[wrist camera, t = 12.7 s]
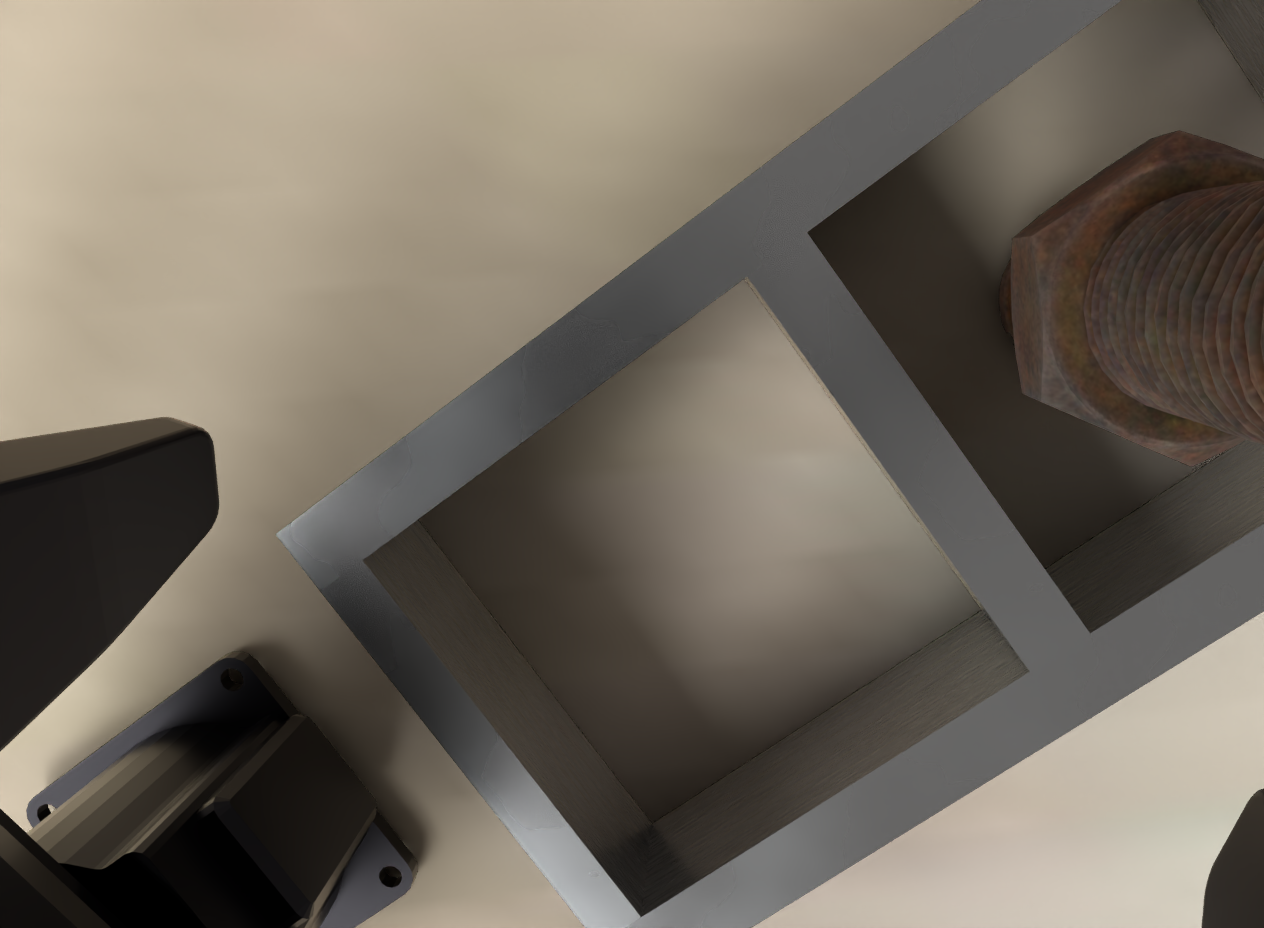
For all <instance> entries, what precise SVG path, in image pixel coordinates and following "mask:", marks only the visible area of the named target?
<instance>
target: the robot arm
mask: <svg viewBox="0 0 1264 928" xmlns="http://www.w3.org/2000/svg"><path fill="white" fill-rule="evenodd" d="M218 510H219V495H218V485H217V474H216V464H215V453H214V445H213V441H212V439H211V437H210V435H209V433H208V432H207V431H205V430H204V429H203V428H201V427H198V426H196V425H193V424H190V423H187V422H184V421H181V420H178V419H174V418H169V417H160V418H154V419H147V420H140V421H134V422H127V423H120V424H114V425H107V426H100V427H94V428H87V429H80V430H74V431H67V432H60V433H54V434H47V435H40V436H33V437H27V438H20V439H13V440H7V441H0V751H1V750H2V749H3V748H4V747H5V746H7V745H8V744H9V743H10V742H11V741H12V740H13V739H14V738H15V737H16V736H17V735H18V734H19V733H20V732H21V731H22V730H23V729H24V728H25V727H26V726H27V725H28V724H30V723H31V722H32V721H33V720H34V719H35V718H36V717H37V716H38V715H39V714H40V713H41V712H42V711H43V710H44V709H45V708H46V707H47V706H48V705H49V704H50V703H51V702H53V701H54V700H55V699H56V698H57V697H58V696H59V695H60V694H61V693H62V692H63V691H64V690H65V689H66V688H67V687H68V686H69V685H70V684H71V683H72V682H73V681H74V680H75V679H77V678H78V677H79V676H80V675H81V674H82V673H83V672H84V671H85V670H86V669H87V668H88V667H89V666H90V665H91V664H92V663H93V662H94V661H95V660H96V659H97V658H98V657H99V656H100V655H101V654H102V653H103V652H104V651H105V650H106V649H107V648H108V647H109V646H110V645H111V644H112V643H113V642H114V640H115V639H116V638H117V637H118V636H119V635H120V634H121V633H122V632H123V631H124V629H125V628H126V627H127V626H128V625H129V624H130V623H131V621H132V620H133V619H134V618H135V617H136V616H137V614H138V613H139V612H140V611H141V610H142V609H143V608H144V606H145V605H146V604H147V603H148V602H149V601H150V599H151V598H152V597H153V596H154V595H155V594H156V592H157V591H158V590H159V589H160V588H161V587H162V585H163V584H164V583H165V582H166V581H167V580H168V579H169V577H170V576H171V575H172V574H173V573H174V572H175V570H176V569H177V568H178V567H179V566H180V565H181V563H182V562H183V561H184V560H185V559H186V558H187V557H188V555H189V554H190V553H191V552H192V551H193V550H194V548H195V547H196V546H197V545H198V544H199V543H200V541H201V540H202V539H203V538H204V537H205V536H206V534H207V533H208V532H209V531H210V529H211V528H212V526H213V524H214V522H215V520H216V518H217V515H218ZM229 668H231V669H236V670H237V671H239V672H240V673H241V674H242V677H243V679H244V680H243V684H236V683H235V682H234V681H232V680H231V678H230V676H229ZM48 804H49V805H52V806H54V807H55V808H56V810H55V811H53V812H52V813H51V812H50V810H49V808H48ZM376 807H377V803H376V800H375V799H374V798H373V796H372V795H371V794H370V793H369V791H368V790H367V789H366V788H365V786H364V785H363V784H362V783H361V781H360V780H359V779H358V778H357V776H356V775H355V774H354V773H353V771H352V770H351V769H350V768H349V766H348V765H347V764H346V763H345V761H344V760H343V759H342V758H341V756H340V755H339V754H338V753H337V751H336V750H335V749H334V748H333V746H332V745H331V744H330V743H329V741H328V740H327V739H326V738H325V736H324V735H323V734H322V733H321V731H320V730H319V729H318V728H317V726H316V725H315V724H314V723H313V721H312V720H311V719H310V718H308V717H305V716H302V715H300V713H299V712H298V711H297V710H296V708H295V707H294V706H293V705H292V703H291V702H290V701H289V700H288V698H287V697H286V696H285V695H284V693H283V692H282V691H281V690H280V688H279V687H278V686H277V685H276V683H275V682H274V681H273V680H272V678H271V677H270V676H269V675H268V673H267V672H266V671H265V670H264V668H263V667H262V666H261V665H260V663H259V662H258V661H257V660H256V659H255V658H254V657H253V656H251V655H250V654H247V653H245V652H242V651H240V652H231V653H229V654H227V655H225V656H224V657H222V658H221V659H220V660H218V661H217V662H216V663H214V664H213V665H211V666H210V667H209V668H207V669H206V670H205V671H203V672H202V673H201V674H199V675H198V676H197V677H195V678H194V679H193V680H191V681H190V682H188V683H187V684H186V685H184V686H183V687H182V688H180V689H179V690H178V691H176V692H175V693H174V694H172V695H171V696H170V697H168V698H167V699H165V700H164V701H163V702H161V703H160V704H159V705H157V706H156V707H155V708H153V709H152V710H151V711H149V712H148V713H147V714H145V715H144V716H143V717H141V718H140V719H138V720H137V721H136V722H134V723H133V724H132V725H130V726H129V727H128V728H126V729H125V730H124V731H122V732H121V733H120V734H118V735H117V736H115V737H114V738H113V739H111V740H110V741H109V742H107V743H106V744H105V745H103V746H102V747H101V748H99V749H98V750H97V751H95V752H94V753H92V754H91V755H90V756H88V757H87V758H86V759H84V760H83V761H82V762H80V763H79V764H78V765H76V766H75V767H74V768H72V769H71V770H69V771H68V772H67V773H65V774H64V775H63V776H61V777H60V778H59V779H57V780H56V781H55V782H53V783H52V784H51V785H49V786H48V787H46V788H45V789H44V790H42V791H41V792H40V793H39V794H37V795H36V796H35V797H33V799H32V800H31V801H30V802H29V803H28V807H27V818H28V820H29V822H30V824H31V826H32V827H33V829H31V830H30V831H29V832H28V833H26V832H25V831H24V830H23V829H22V828H20V827H19V826H18V825H17V824H16V823H15V822H14V821H13V820H12V819H11V818H10V817H9V816H8V815H7V814H5V813H4V812H3V811H2V810H1V809H0V928H355V927H356V926H358V925H359V924H361V923H362V922H364V921H365V920H367V919H368V918H370V917H371V916H373V915H374V914H376V913H377V912H379V911H380V910H382V909H383V908H385V907H386V906H388V905H389V904H391V903H392V902H394V901H395V900H397V899H398V898H400V897H401V896H403V895H404V894H405V893H406V892H407V891H408V890H409V889H410V888H411V886H412V884H413V882H414V880H415V878H416V875H417V872H418V868H417V862H416V860H415V858H414V856H413V855H412V853H411V852H410V851H409V850H408V848H407V847H406V846H405V845H404V843H403V842H402V841H401V840H400V838H399V837H398V836H397V835H396V833H395V832H394V831H393V830H392V828H391V827H390V826H389V825H388V823H387V822H386V821H385V820H384V818H383V817H382V816H381V815H380V813H379V812H378V811H377V810H376ZM387 866H392V867H395V868H397V869H398V870H399V871H400V873H401V875H402V876H401V877H398V878H396V877H391V876H390V875H389V874H387V872H386V870H385V868H384V867H387ZM1202 928H1264V789H1261V790H1258V791H1257V792H1256V793H1255V794H1254V795H1253V796H1252V797H1251V798H1250V800H1249V801H1248V803H1247V804H1246V806H1245V808H1244V810H1243V812H1242V813H1241V815H1240V817H1239V819H1238V821H1237V822H1236V824H1235V826H1234V828H1233V830H1232V831H1231V833H1230V835H1229V837H1228V839H1227V840H1226V842H1225V844H1224V846H1223V848H1222V849H1221V851H1220V853H1219V855H1218V857H1217V858H1216V860H1215V862H1214V864H1213V866H1212V869H1211V871H1210V874H1209V877H1208V881H1207V885H1206V890H1205V896H1204V906H1203V917H1202Z"/></svg>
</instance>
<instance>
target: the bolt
mask: <svg viewBox="0 0 1264 928" xmlns="http://www.w3.org/2000/svg"><path fill="white" fill-rule="evenodd" d="M999 308H1000V314H1001V320H1002V323H1003V326H1004V328H1005V331H1006V333H1008V332H1010V333H1011V336H1012V338H1013V339H1014V344H1013V345H1014V346H1015V354H1016V360H1017V366H1018V372H1019V378H1020V384H1021V389H1022V394H1024V395H1026V396H1028V397H1031V398H1033V399H1035V400H1037V401H1040V402H1042V403H1044V404H1047V405H1049V406H1051V407H1053V408H1056V409H1058V410H1060V411H1063V412H1065V413H1067V414H1069V415H1072V416H1074V417H1076V418H1079V419H1081V420H1083V421H1086V422H1088V423H1090V424H1093V425H1095V426H1097V427H1100V428H1102V429H1104V430H1106V431H1109V432H1111V433H1113V434H1116V435H1118V436H1120V437H1123V438H1125V439H1127V440H1130V441H1132V442H1134V443H1137V444H1139V445H1141V446H1144V447H1146V448H1148V449H1151V450H1153V451H1155V452H1157V453H1160V454H1162V455H1165V456H1167V457H1169V458H1172V459H1174V460H1176V461H1179V462H1181V463H1184V464H1186V465H1188V466H1191V467H1192V466H1194V465H1196V464H1198V463H1201V462H1203V461H1205V460H1207V459H1209V458H1211V457H1213V456H1215V455H1217V454H1219V453H1222V452H1224V451H1226V450H1228V449H1230V448H1232V447H1234V446H1236V445H1238V444H1239V443H1241V442H1243V441H1245V440H1248V441H1251V442H1255V443H1258V444H1261V445H1263V446H1264V159H1261V158H1258V157H1256V156H1253V155H1251V154H1248V153H1245V152H1243V151H1240V150H1237V149H1235V148H1232V147H1230V146H1227V145H1224V144H1221V143H1218V142H1215V141H1211V140H1208V139H1205V138H1202V137H1198V136H1195V135H1192V134H1189V133H1186V132H1182V131H1175V132H1172V133H1169V134H1165V135H1162V136H1159V137H1155V138H1152V139H1150V140H1148V141H1147V142H1145V143H1144V144H1142V145H1140V146H1139V147H1137V148H1136V149H1134V150H1133V151H1131V152H1130V153H1128V154H1127V155H1125V156H1123V157H1122V158H1120V159H1119V160H1117V161H1116V162H1114V163H1113V164H1111V165H1110V166H1108V167H1107V168H1105V169H1104V170H1102V171H1101V172H1099V173H1098V174H1097V175H1095V176H1094V177H1092V178H1091V179H1089V180H1088V181H1087V182H1085V183H1084V184H1082V185H1081V186H1079V187H1078V188H1077V189H1075V190H1074V191H1072V192H1071V193H1070V194H1068V195H1067V196H1066V197H1064V198H1063V199H1062V200H1060V201H1059V202H1058V203H1056V204H1055V205H1054V206H1052V207H1051V208H1050V209H1048V210H1047V211H1046V212H1044V213H1043V214H1042V215H1040V216H1039V217H1038V218H1037V219H1036V220H1034V221H1033V222H1032V223H1031V224H1029V225H1028V226H1027V227H1026V228H1025V229H1023V230H1022V231H1021V232H1020V233H1018V234H1017V235H1016V236H1015V237H1014V238H1012V256H1011V259H1010V261H1009V263H1008V265H1007V267H1006V269H1005V271H1004V273H1003V275H1002V280H1001V284H1000V289H999Z"/></svg>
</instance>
